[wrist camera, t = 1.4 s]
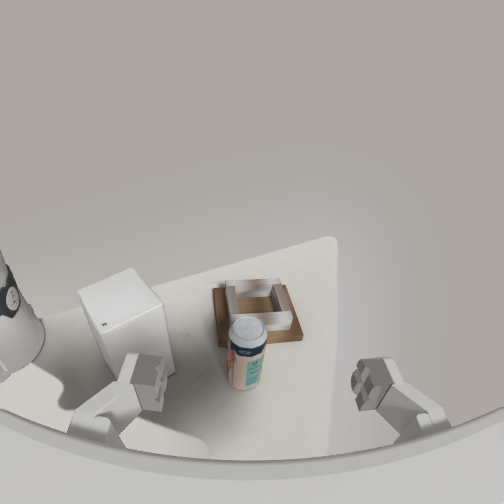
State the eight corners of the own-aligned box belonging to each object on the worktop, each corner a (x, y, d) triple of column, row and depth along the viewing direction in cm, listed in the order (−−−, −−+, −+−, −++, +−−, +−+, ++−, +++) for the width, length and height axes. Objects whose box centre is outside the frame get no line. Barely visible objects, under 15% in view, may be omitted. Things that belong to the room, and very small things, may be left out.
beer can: (235, 361, 45) (239, 308, 38) (263, 373, 44) (274, 321, 37) (221, 384, 41) (222, 333, 35) (251, 397, 40) (259, 348, 33)
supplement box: (178, 372, 42) (165, 302, 34) (128, 399, 37) (98, 335, 28) (148, 335, 47) (133, 265, 39) (103, 358, 42) (75, 289, 34)
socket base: (219, 346, 47) (219, 329, 45) (213, 293, 58) (213, 275, 55) (301, 340, 50) (307, 322, 47) (284, 290, 60) (287, 273, 58)
